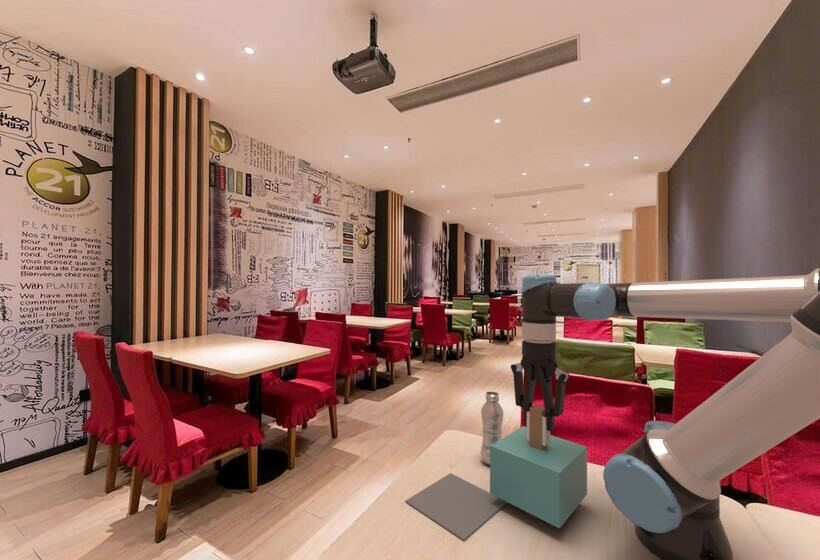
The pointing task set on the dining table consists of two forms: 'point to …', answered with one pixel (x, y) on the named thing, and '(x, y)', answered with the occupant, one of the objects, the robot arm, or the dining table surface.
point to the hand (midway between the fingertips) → (538, 440)
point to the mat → (456, 505)
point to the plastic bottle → (491, 424)
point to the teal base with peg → (539, 472)
